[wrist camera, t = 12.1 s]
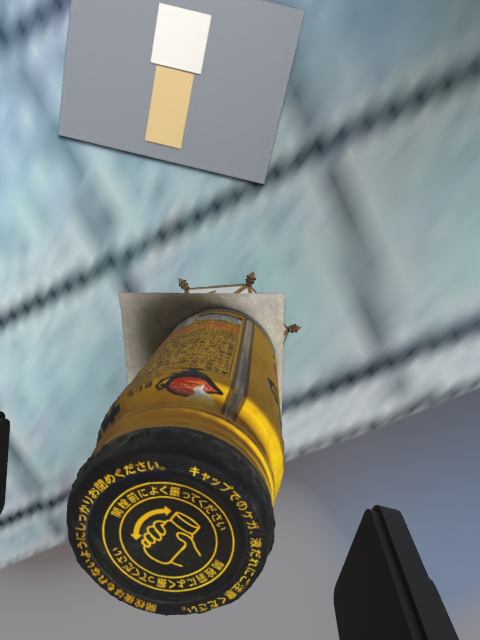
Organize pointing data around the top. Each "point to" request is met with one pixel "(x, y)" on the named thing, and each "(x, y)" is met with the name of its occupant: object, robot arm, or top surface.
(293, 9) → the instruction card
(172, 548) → the condiment
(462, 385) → the top surface
